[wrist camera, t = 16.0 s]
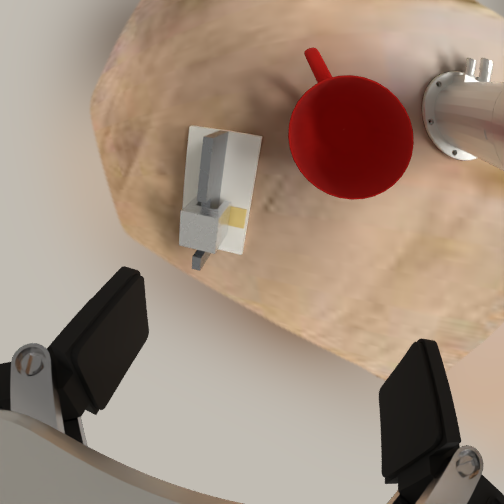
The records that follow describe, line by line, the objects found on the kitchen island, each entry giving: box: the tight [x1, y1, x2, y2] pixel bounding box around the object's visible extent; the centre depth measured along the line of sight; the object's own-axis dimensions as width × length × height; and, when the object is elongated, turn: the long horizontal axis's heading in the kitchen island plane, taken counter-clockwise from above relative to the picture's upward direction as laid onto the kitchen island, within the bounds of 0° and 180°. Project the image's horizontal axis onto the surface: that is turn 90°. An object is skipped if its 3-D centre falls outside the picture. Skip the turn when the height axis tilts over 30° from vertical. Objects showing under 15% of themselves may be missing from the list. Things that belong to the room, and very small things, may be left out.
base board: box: [182, 125, 263, 255], centre depth 42 cm, size 18×10×1 cm, turn 171°
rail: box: [192, 130, 229, 270], centre depth 39 cm, size 18×1×6 cm, turn 171°
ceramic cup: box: [288, 48, 414, 199], centre depth 30 cm, size 13×17×10 cm
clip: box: [179, 196, 231, 254], centre depth 40 cm, size 5×5×6 cm
